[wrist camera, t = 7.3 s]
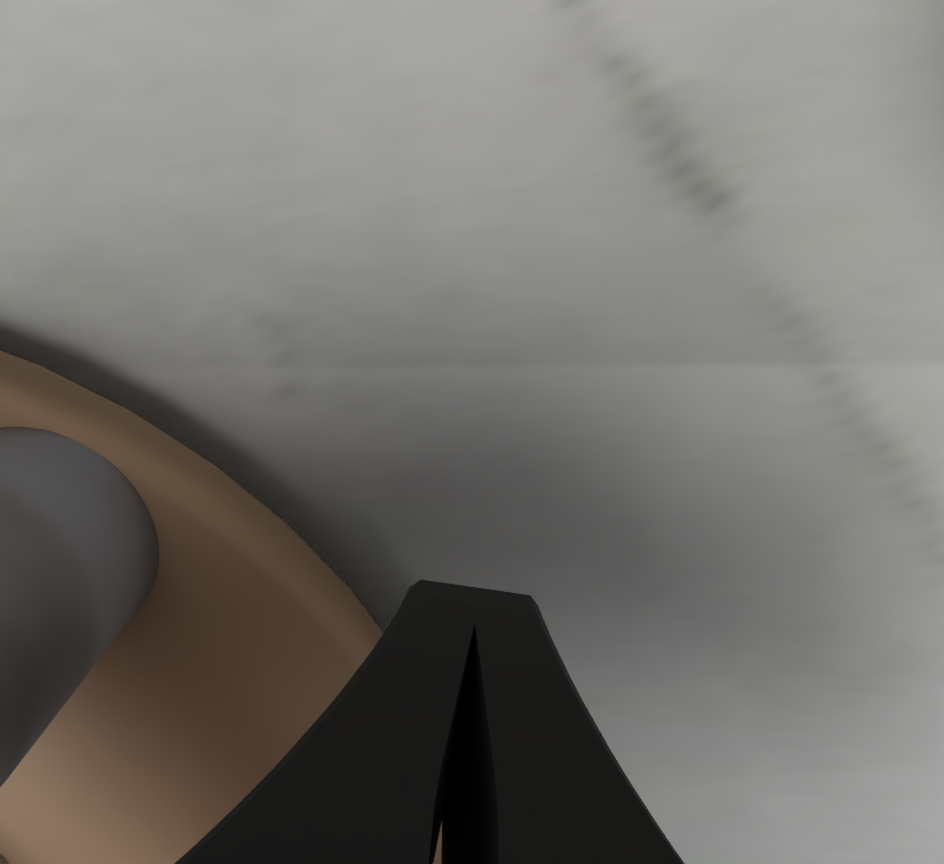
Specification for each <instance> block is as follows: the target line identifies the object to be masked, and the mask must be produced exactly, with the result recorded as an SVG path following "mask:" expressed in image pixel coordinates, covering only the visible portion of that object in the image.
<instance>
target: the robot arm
mask: <svg viewBox="0 0 944 864" xmlns="http://www.w3.org/2000/svg"><path fill="white" fill-rule="evenodd" d="M441 823H442V849H441V864H684V862H683V861H682V859H681V858H680V857H679V855H678V854H677V852H676V851H675V850H674V848H673V847H672V845H671V844H670V842H669V841H668V839H667V838H666V836H665V835H664V833H663V832H662V831H661V829H660V828H659V826H658V825H657V823H656V822H655V820H654V819H653V817H652V815H651V814H650V812H649V811H648V809H647V808H646V806H645V805H644V803H643V802H642V800H641V798H640V797H639V795H638V794H637V792H636V791H635V789H634V788H633V786H632V784H631V783H630V781H629V780H628V778H627V777H626V775H625V773H624V772H623V770H622V768H621V767H620V765H619V763H618V762H617V760H616V758H615V757H614V755H613V753H612V752H611V750H610V749H609V747H608V745H607V743H606V741H605V740H604V738H603V736H602V734H601V733H600V731H599V729H598V727H597V725H596V724H595V722H594V720H593V718H592V717H591V715H590V713H589V711H588V709H587V708H586V706H585V704H584V702H583V701H582V699H581V697H580V695H579V693H578V691H577V689H576V687H575V685H574V683H573V682H572V680H571V678H570V676H569V674H568V672H567V670H566V668H565V665H564V663H563V661H562V659H561V657H560V655H559V653H558V651H557V649H556V647H555V645H554V643H553V640H552V638H551V636H550V634H549V631H548V629H547V627H546V624H545V622H544V620H543V617H542V615H541V612H540V610H539V607H538V605H537V604H536V603H535V601H534V600H533V598H532V597H531V596H530V595H524V594H517V593H510V592H503V591H496V590H489V589H482V588H475V587H468V586H461V585H454V584H447V583H440V582H433V581H426V580H420V581H418V582H417V583H415V584H414V585H412V586H411V587H409V590H408V592H407V594H406V597H405V599H404V601H403V602H402V604H401V606H400V608H399V610H398V612H397V613H396V615H395V617H394V618H393V620H392V621H391V623H390V625H389V626H388V628H387V629H386V631H385V632H384V634H383V635H382V637H381V638H380V639H379V641H378V642H377V644H376V645H375V647H374V648H373V650H372V651H371V652H370V654H369V655H368V656H367V658H366V659H365V660H364V662H363V663H362V664H361V666H360V667H359V668H358V669H357V671H356V672H355V673H354V675H353V676H352V677H351V679H350V680H349V681H348V682H347V684H346V685H345V686H344V688H343V689H342V690H341V692H340V693H339V694H338V695H337V697H336V698H335V699H334V700H333V702H332V703H331V704H330V705H329V706H328V708H327V709H326V710H325V711H324V712H323V713H322V714H321V716H320V717H319V718H318V719H317V720H316V721H315V722H314V723H313V725H312V726H311V727H310V728H309V729H308V730H307V731H306V732H305V734H304V735H303V736H302V737H301V738H300V739H299V740H298V741H297V743H296V744H295V745H294V746H293V747H292V748H291V749H290V751H289V752H288V753H287V754H286V755H285V756H284V757H283V758H282V760H281V761H280V762H279V763H278V764H277V765H276V766H275V767H274V768H273V769H272V770H271V771H270V772H269V773H268V774H267V775H266V776H265V777H264V778H263V779H262V780H261V781H260V783H259V784H258V785H257V786H256V787H255V788H254V789H253V790H252V791H251V792H250V793H249V794H248V795H247V796H246V797H245V798H244V799H243V800H242V801H241V802H240V803H239V804H238V805H237V806H236V807H235V808H234V809H233V810H232V811H230V812H229V813H228V814H227V815H226V816H225V817H224V818H223V819H222V820H221V821H220V822H219V823H218V824H217V825H216V826H215V827H214V828H213V829H212V830H210V831H209V832H208V833H207V834H206V835H205V836H204V837H203V838H202V839H201V840H200V841H199V842H198V843H197V844H196V845H195V846H193V847H192V848H191V849H190V850H189V851H188V852H187V853H186V854H185V855H183V856H182V857H181V858H180V859H179V860H178V861H177V862H175V863H174V864H433V863H434V858H435V853H436V848H437V843H438V838H439V833H440V828H441Z"/></svg>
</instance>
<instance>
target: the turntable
mask: <svg viewBox="0 0 944 864" xmlns="http://www.w3.org/2000/svg"><path fill="white" fill-rule="evenodd" d="M383 634H384V633H383V632H382V631H381V629H380V628H379V627H378V625H377V624H376V623H375V621H374V620H373V619H372V617H371V616H370V615H369V614H368V612H367V611H366V610H365V608H364V607H363V606H362V604H361V603H360V602H359V600H358V599H357V598H356V596H355V595H354V594H353V592H352V591H351V590H350V588H349V587H348V586H347V585H346V584H345V583H344V582H343V581H342V580H341V579H340V578H339V577H338V576H337V575H336V574H335V573H334V572H333V571H332V570H331V569H330V568H329V567H328V566H327V564H326V563H325V562H324V561H323V560H322V559H321V558H320V557H319V556H318V555H317V554H316V553H315V552H314V551H313V550H312V549H311V548H310V547H309V546H308V545H307V544H306V543H305V542H304V541H303V540H302V539H301V538H300V537H299V536H298V535H297V534H296V532H295V531H294V530H293V529H292V528H291V527H290V526H289V525H288V524H286V523H285V522H284V521H283V520H281V519H280V518H279V517H278V516H277V515H275V514H274V513H273V512H272V511H270V510H269V509H268V508H267V507H266V506H264V505H263V504H262V503H261V502H259V501H258V500H257V499H256V498H255V497H253V496H252V495H251V494H250V493H248V492H247V491H246V490H245V489H244V488H242V487H241V486H240V485H239V484H237V483H236V482H235V481H234V480H232V479H231V478H230V477H229V476H228V475H226V474H225V473H224V472H223V471H221V470H220V469H219V468H218V467H217V466H215V465H214V464H212V463H211V462H209V461H208V460H206V459H205V458H203V457H201V456H200V455H198V454H197V453H195V452H194V451H192V450H191V449H189V448H187V447H186V446H184V445H183V444H181V443H180V442H178V441H177V440H175V439H174V438H172V437H170V436H169V435H167V434H166V433H164V432H163V431H161V430H160V429H158V428H157V427H155V426H153V425H152V424H150V423H149V422H147V421H146V420H144V419H143V418H141V417H140V416H138V415H136V414H135V413H133V412H132V411H130V410H128V409H126V408H124V407H122V406H120V405H118V404H116V403H114V402H112V401H110V400H108V399H106V398H104V397H102V396H100V395H98V394H96V393H94V392H92V391H90V390H88V389H86V388H84V387H82V386H80V385H78V384H76V383H74V382H72V381H70V380H68V379H66V378H64V377H62V376H60V375H58V374H56V373H54V372H52V371H50V370H48V369H46V368H44V367H42V366H40V365H38V364H35V363H32V362H30V361H27V360H24V359H22V358H19V357H16V356H13V355H11V354H8V353H5V352H3V351H0V853H1V855H2V856H3V857H4V858H5V859H6V860H7V861H8V862H9V863H10V864H174V863H175V862H177V861H178V860H179V859H180V858H181V857H182V856H183V855H185V854H186V853H187V852H188V851H189V850H190V849H191V848H192V847H193V846H195V845H196V844H197V843H198V842H199V841H200V840H201V839H202V838H203V837H204V836H205V835H206V834H207V833H208V832H209V831H210V830H212V829H213V828H214V827H215V826H216V825H217V824H218V823H219V822H220V821H221V820H222V819H223V818H224V817H225V816H226V815H227V814H228V813H229V812H230V811H232V810H233V809H234V808H235V807H236V806H237V805H238V804H239V803H240V802H241V801H242V800H243V799H244V798H245V797H246V796H247V795H248V794H249V793H250V792H251V791H252V790H253V789H254V788H255V787H256V786H257V785H258V784H259V783H260V781H261V780H262V779H263V778H264V777H265V776H266V775H267V774H268V773H269V772H270V771H271V770H272V769H273V768H274V767H275V766H276V765H277V764H278V763H279V762H280V761H281V760H282V758H283V757H284V756H285V755H286V754H287V753H288V752H289V751H290V749H291V748H292V747H293V746H294V745H295V744H296V743H297V741H298V740H299V739H300V738H301V737H302V736H303V735H304V734H305V732H306V731H307V730H308V729H309V728H310V727H311V726H312V725H313V723H314V722H315V721H316V720H317V719H318V718H319V717H320V716H321V714H322V713H323V712H324V711H325V710H326V709H327V708H328V706H329V705H330V704H331V703H332V702H333V700H334V699H335V698H336V697H337V695H338V694H339V693H340V692H341V690H342V689H343V688H344V686H345V685H346V684H347V682H348V681H349V680H350V679H351V677H352V676H353V675H354V673H355V672H356V671H357V669H358V668H359V667H360V666H361V664H362V663H363V662H364V660H365V659H366V658H367V656H368V655H369V654H370V652H371V651H372V650H373V648H374V647H375V645H376V644H377V642H378V641H379V639H380V638H381V637H382V635H383ZM441 849H442V823H441V828H440V833H439V838H438V843H437V848H436V853H435V858H434V863H433V864H441Z"/></svg>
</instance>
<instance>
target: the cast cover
mask: <svg viewBox="0 0 944 864" xmlns="http://www.w3.org/2000/svg"><path fill="white" fill-rule="evenodd" d="M0 864H10V863H9V862H8V861H7V860H6V859H5V858H4V857H3V856H2V855H1V853H0Z"/></svg>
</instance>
